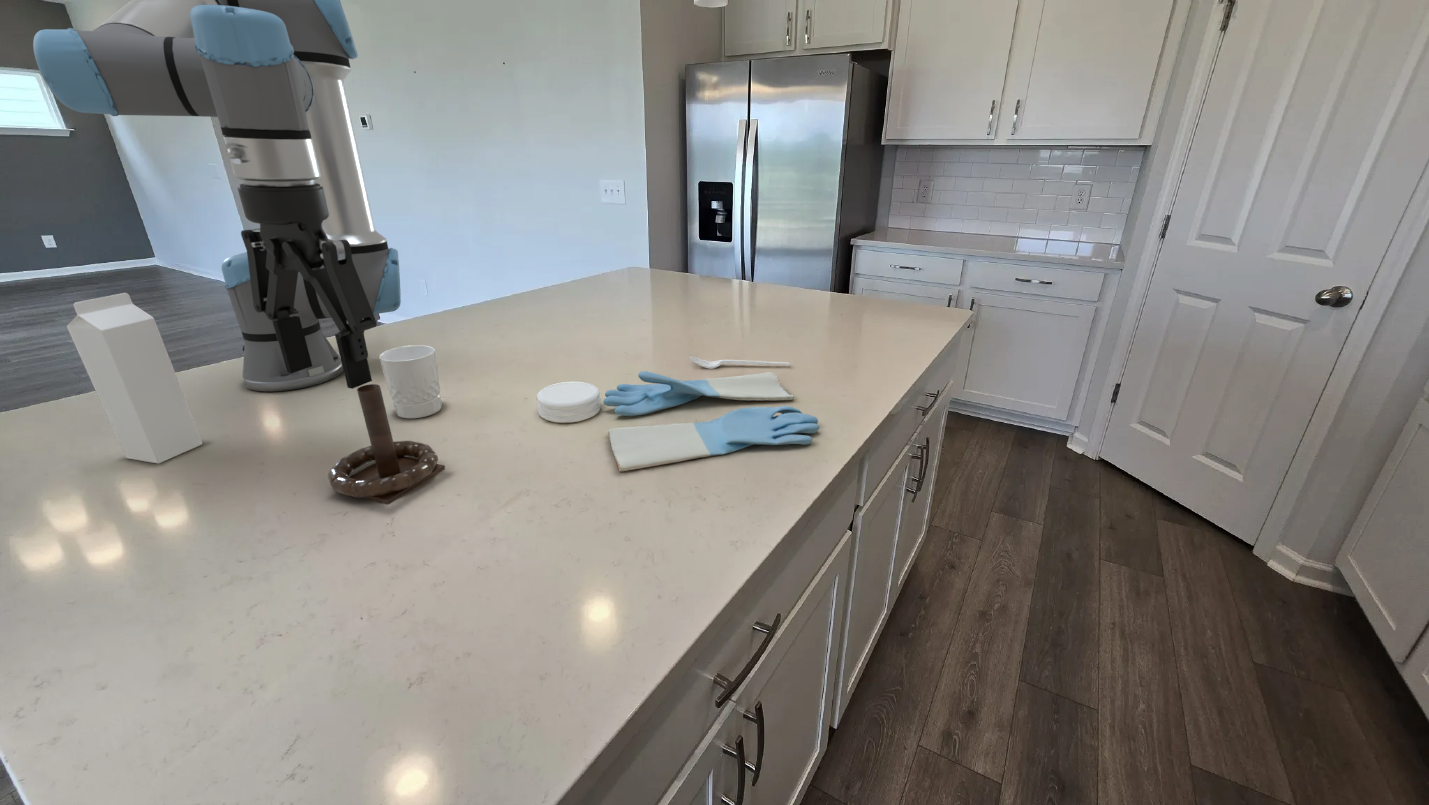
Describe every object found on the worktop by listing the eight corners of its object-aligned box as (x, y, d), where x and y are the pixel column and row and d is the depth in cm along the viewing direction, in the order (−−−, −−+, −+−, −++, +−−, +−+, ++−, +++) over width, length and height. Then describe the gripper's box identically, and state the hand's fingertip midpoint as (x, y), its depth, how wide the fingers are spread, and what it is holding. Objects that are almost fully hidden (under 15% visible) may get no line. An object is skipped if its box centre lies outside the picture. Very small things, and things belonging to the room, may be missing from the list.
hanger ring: (308, 488, 71) (303, 474, 70) (389, 445, 81) (386, 432, 81) (382, 508, 67) (378, 493, 66) (458, 461, 78) (455, 447, 77)
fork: (790, 369, 115) (791, 360, 114) (689, 368, 115) (688, 359, 114) (788, 364, 118) (789, 355, 117) (690, 362, 118) (689, 354, 117)
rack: (335, 496, 72) (305, 395, 67) (395, 462, 80) (372, 370, 75) (389, 511, 69) (363, 407, 64) (446, 475, 77) (427, 380, 72)
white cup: (425, 422, 92) (412, 362, 88) (381, 418, 93) (367, 358, 89) (455, 403, 99) (445, 346, 95) (414, 399, 100) (402, 343, 96)
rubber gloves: (838, 443, 86) (842, 403, 84) (618, 473, 78) (615, 430, 75) (770, 378, 110) (772, 346, 108) (596, 396, 102) (593, 361, 99)
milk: (125, 459, 80) (52, 301, 72) (172, 439, 86) (110, 290, 77) (159, 464, 79) (88, 304, 70) (204, 444, 84) (144, 293, 76)
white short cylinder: (526, 411, 96) (524, 391, 94) (577, 394, 103) (576, 375, 101) (561, 430, 90) (559, 409, 88) (613, 410, 96) (611, 391, 95)
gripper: (172, 175, 62) (236, 370, 72) (322, 193, 55) (370, 406, 65) (245, 172, 68) (295, 351, 78) (388, 187, 62) (423, 382, 71)
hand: (329, 376), depth 71 cm, fingers open, 9 cm apart
